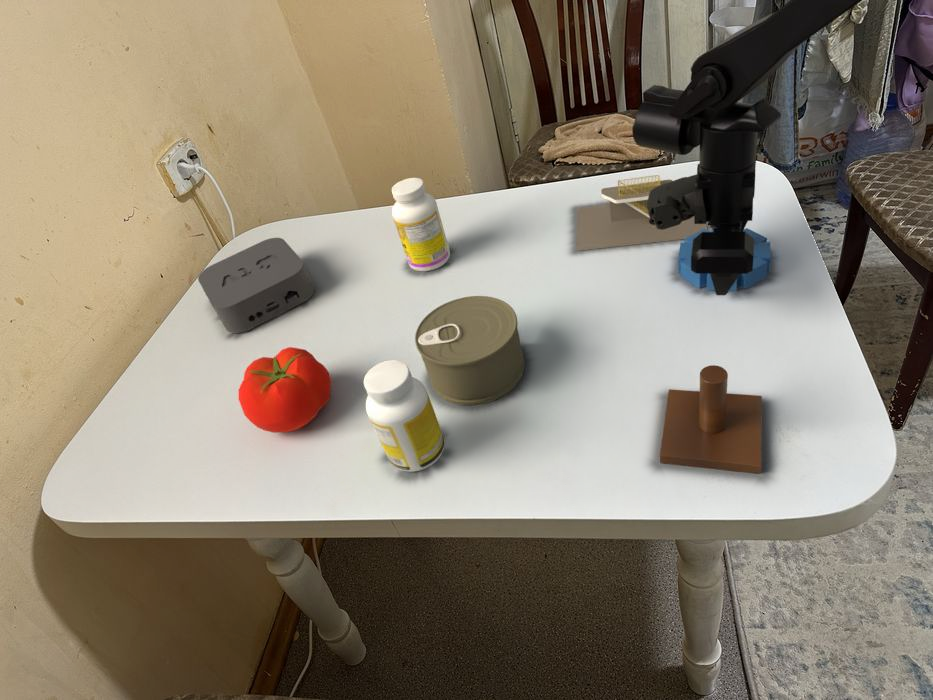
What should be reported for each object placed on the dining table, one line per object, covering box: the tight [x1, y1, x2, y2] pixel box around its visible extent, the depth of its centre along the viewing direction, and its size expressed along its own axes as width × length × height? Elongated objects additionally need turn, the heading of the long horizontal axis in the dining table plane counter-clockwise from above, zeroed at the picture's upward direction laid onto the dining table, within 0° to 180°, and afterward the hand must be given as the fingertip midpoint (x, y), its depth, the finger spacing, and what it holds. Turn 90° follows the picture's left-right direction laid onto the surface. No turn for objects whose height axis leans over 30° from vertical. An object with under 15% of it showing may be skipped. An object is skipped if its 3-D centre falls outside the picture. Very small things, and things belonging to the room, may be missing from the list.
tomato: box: [238, 346, 332, 433], centre depth 79 cm, size 11×11×8 cm
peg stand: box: [659, 364, 763, 475], centre depth 63 cm, size 9×9×8 cm
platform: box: [576, 174, 709, 252], centre depth 95 cm, size 12×18×7 cm, turn 83°
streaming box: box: [197, 237, 315, 334], centre depth 102 cm, size 14×14×5 cm
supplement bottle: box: [391, 177, 451, 272], centre depth 97 cm, size 7×7×13 cm
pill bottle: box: [363, 359, 446, 473], centre depth 69 cm, size 6×6×12 cm
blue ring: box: [677, 227, 772, 292], centre depth 84 cm, size 11×11×2 cm
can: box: [414, 295, 526, 406], centre depth 78 cm, size 12×12×7 cm
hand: (722, 277), depth 81 cm, fingers open, 7 cm apart
